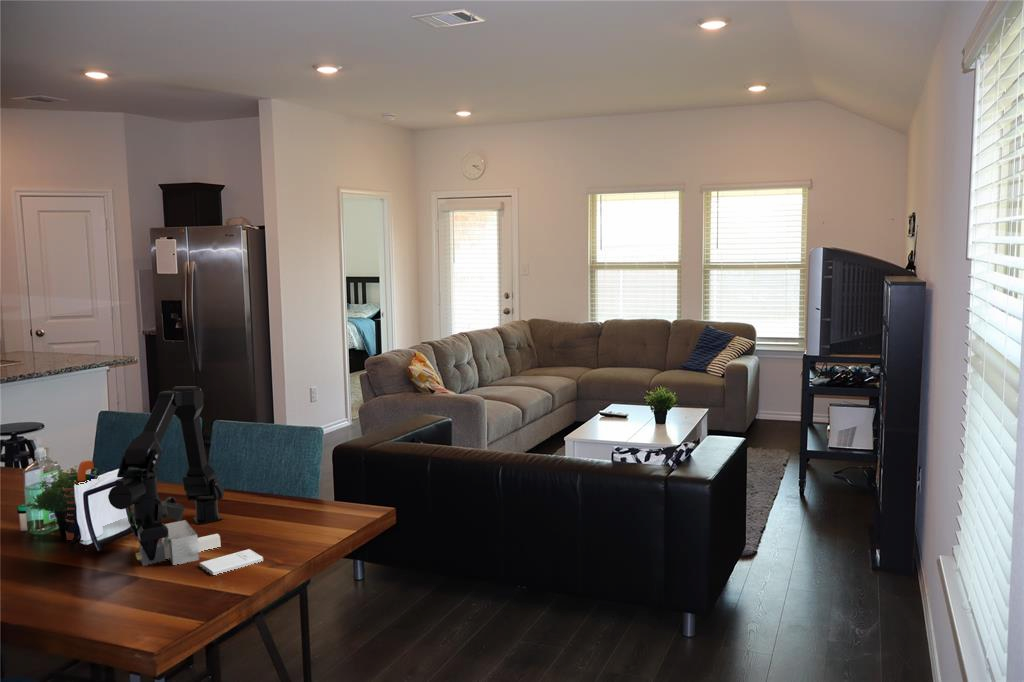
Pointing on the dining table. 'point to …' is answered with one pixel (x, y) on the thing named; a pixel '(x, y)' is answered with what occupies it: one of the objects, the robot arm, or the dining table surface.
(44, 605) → the dining table surface
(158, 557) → the cable plug
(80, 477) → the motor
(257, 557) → the external hard drive
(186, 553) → the block
